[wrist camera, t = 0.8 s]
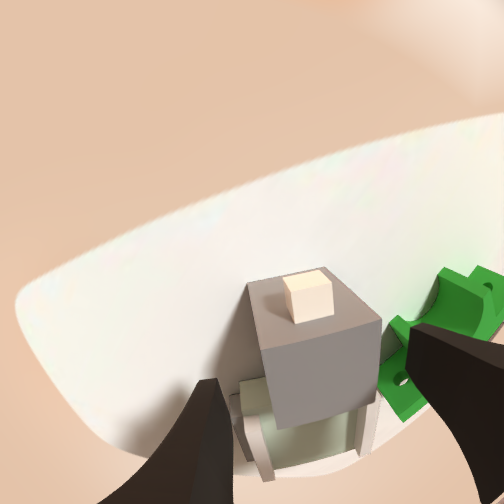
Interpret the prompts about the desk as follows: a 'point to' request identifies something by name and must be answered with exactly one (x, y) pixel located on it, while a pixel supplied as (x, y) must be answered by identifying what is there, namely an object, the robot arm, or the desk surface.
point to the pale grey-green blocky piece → (296, 431)
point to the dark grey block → (315, 346)
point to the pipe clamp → (448, 317)
